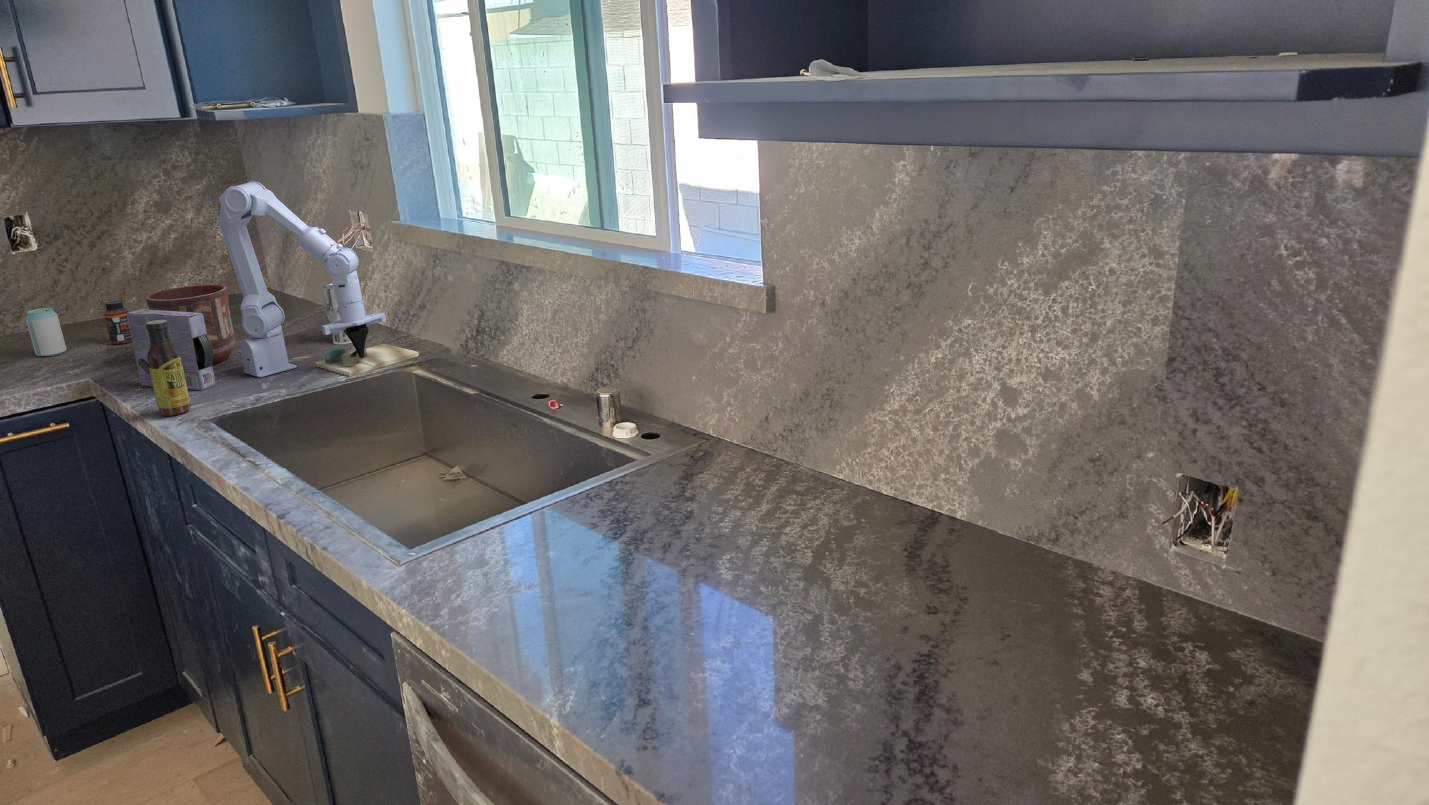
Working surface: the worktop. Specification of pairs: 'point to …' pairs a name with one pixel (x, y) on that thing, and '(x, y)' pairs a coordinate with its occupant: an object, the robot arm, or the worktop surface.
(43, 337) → the can
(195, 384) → the cake pan box
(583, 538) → the worktop surface
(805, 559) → the worktop surface
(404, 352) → the board
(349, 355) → the swing bar
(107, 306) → the supplement bottle
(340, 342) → the beer glass
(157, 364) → the sauce bottle
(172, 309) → the pottery
